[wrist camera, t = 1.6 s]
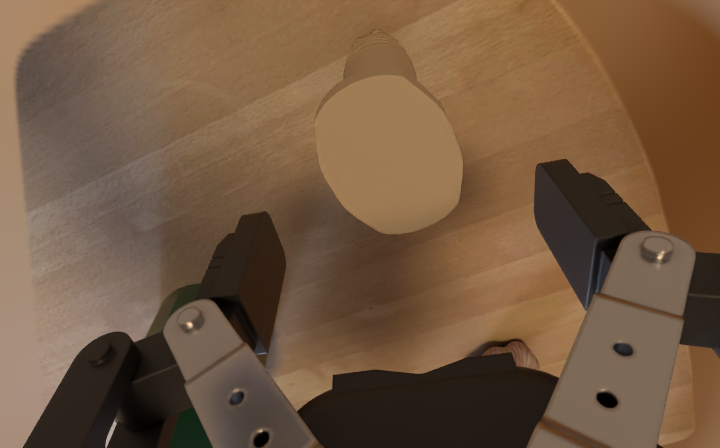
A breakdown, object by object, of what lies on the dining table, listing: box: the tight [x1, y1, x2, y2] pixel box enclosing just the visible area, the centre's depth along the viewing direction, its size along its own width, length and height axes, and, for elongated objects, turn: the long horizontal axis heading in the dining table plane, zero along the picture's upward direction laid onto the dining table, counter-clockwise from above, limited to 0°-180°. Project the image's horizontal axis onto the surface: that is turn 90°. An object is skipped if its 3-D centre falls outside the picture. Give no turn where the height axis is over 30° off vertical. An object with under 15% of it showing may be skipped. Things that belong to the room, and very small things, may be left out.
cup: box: [114, 284, 272, 448], centre depth 38 cm, size 11×11×10 cm
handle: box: [315, 29, 463, 234], centre depth 22 cm, size 5×6×15 cm
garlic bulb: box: [481, 341, 540, 370], centre depth 43 cm, size 8×7×8 cm
